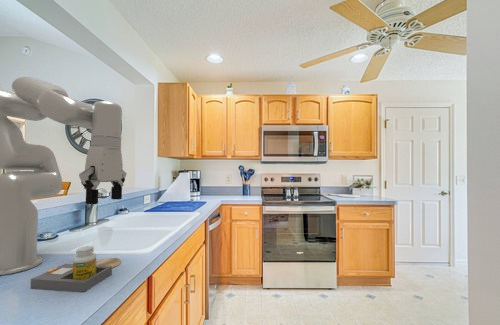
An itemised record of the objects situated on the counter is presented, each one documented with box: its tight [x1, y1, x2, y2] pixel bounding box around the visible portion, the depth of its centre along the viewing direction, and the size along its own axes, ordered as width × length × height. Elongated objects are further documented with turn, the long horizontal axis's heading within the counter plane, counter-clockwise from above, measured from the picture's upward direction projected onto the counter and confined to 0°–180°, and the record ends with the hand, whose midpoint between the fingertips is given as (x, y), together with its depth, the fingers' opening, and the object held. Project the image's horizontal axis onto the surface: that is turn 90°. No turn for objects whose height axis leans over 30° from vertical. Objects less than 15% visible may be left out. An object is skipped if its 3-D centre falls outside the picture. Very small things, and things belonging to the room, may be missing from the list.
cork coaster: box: [96, 257, 122, 269], centre depth 75 cm, size 9×9×1 cm
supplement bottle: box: [72, 245, 97, 280], centre depth 64 cm, size 5×5×10 cm
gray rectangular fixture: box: [30, 263, 113, 293], centre depth 65 cm, size 16×10×3 cm, turn 83°
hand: (105, 201), depth 66 cm, fingers open, 9 cm apart
